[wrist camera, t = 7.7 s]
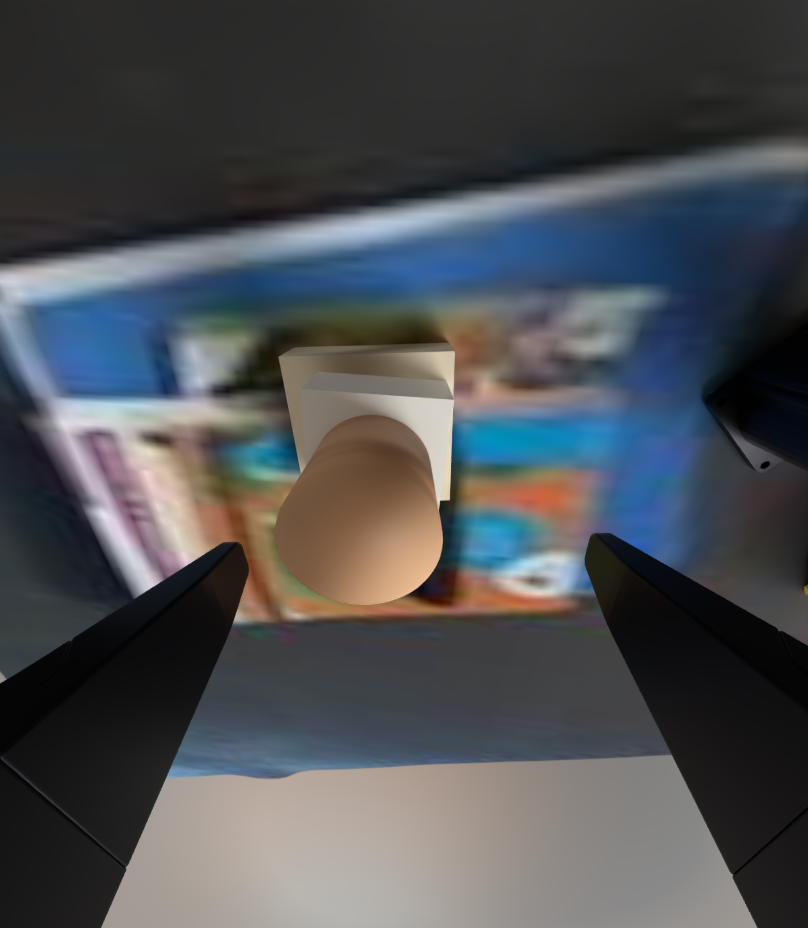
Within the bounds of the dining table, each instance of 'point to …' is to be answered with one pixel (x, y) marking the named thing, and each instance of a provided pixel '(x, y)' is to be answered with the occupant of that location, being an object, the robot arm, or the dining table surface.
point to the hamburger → (806, 589)
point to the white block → (380, 409)
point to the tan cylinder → (363, 514)
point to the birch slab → (365, 360)
